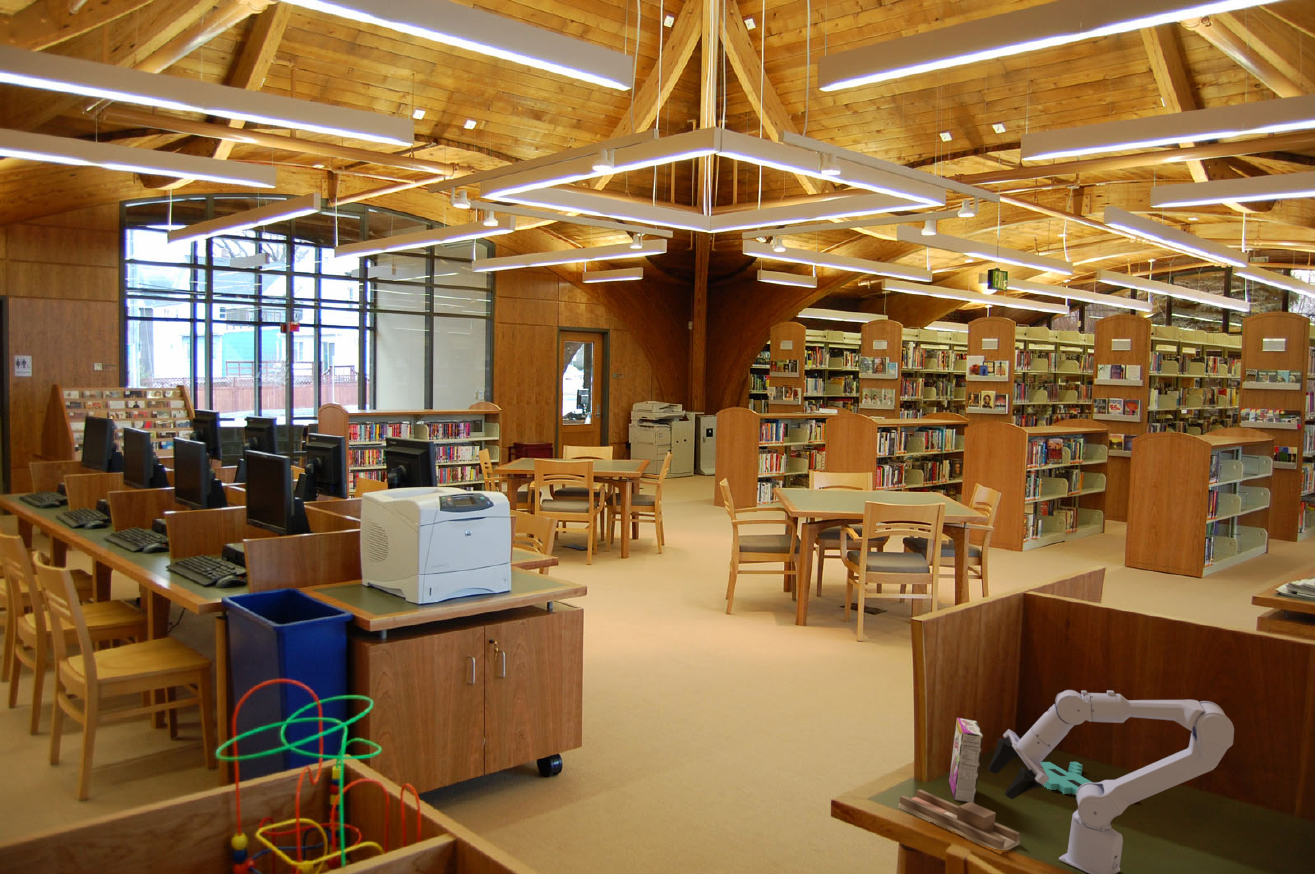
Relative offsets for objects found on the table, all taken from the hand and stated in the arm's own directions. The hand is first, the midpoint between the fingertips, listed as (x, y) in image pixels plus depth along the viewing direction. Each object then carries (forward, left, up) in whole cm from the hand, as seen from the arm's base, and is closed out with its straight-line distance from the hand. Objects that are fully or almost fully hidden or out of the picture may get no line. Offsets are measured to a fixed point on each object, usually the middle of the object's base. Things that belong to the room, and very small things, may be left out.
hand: (999, 783), depth 196 cm
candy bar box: (+16, -17, -12) cm, 26 cm away
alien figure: (+4, -52, -13) cm, 53 cm away
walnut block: (+3, +1, -11) cm, 11 cm away
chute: (+7, +1, -12) cm, 14 cm away
